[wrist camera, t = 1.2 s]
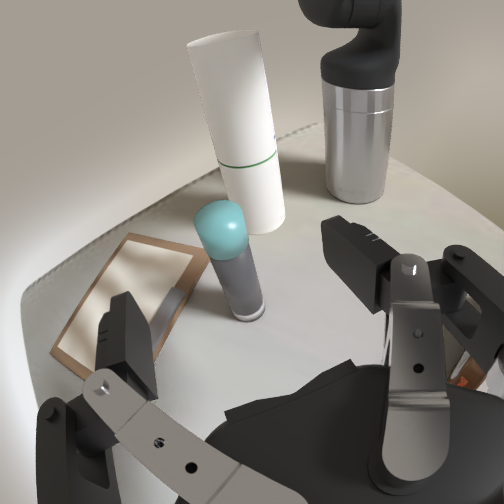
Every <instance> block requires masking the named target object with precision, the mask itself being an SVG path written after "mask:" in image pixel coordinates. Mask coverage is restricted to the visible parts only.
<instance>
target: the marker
mask: <svg viewBox="0 0 504 504" xmlns="http://www.w3.org/2000/svg"><path fill="white" fill-rule="evenodd" d="M194 225H195V228H196V230H197V233H198V235H199V237H200V240H201V242H202V245H203V247H204V249H205V252H206V253H207V255H208V256H209V258H210V260H211V263H212V265H213V267H214V270H215V272H216V274H217V277H218V279H219V281H220V284H221V286H222V288H223V291H224V293H225V295H226V297H227V300H228V302H229V304H230V308H231V310H232V312H233V314H234V315H235V317H236V318H237V319H238V320H240V321H242V322H253V321H255V320H257V319H259V318H260V317H261V316H262V315H263V313H264V310H265V302H264V298H263V295H262V292H261V288H260V284H259V280H258V276H257V273H256V269H255V265H254V261H253V257H252V253H251V249H250V245H249V236H248V232H247V229H246V225H245V221H244V217H243V213H242V209H241V207H240V206H239V205H238V204H237V203H235V202H233V201H229V200H219V201H215V202H212V203H209V204H207V205H205V206H204V207H203V208H201V209H200V210H199V211H198V213H197V214H196V216H195V219H194Z"/></svg>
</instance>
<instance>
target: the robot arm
mask: <svg viewBox="0 0 504 504" xmlns="http://www.w3.org/2000/svg"><path fill="white" fill-rule="evenodd" d="M298 2H299V5H300V8H301V10H302V12H303V14H304V15H305V16H306V18H307V19H308V20H310V21H311V22H312V23H314V24H316V25H318V26H322V27H329V28H359V31H358V34H357V36H356V37H355V38H354V39H353V40H352V41H350V42H349V43H347V44H346V45H344V46H342V47H340V48H337V49H335V50H333V51H330V52H328V53H326V54H325V55H324V56H323V57H322V59H321V78H322V92H323V106H324V107H323V108H324V129H325V166H326V187H327V189H328V191H329V192H330V193H331V194H332V195H333V196H335V197H336V198H338V199H340V200H343V201H345V202H349V203H357V204H360V203H368V202H372V201H374V200H376V199H378V198H379V197H380V196H381V195H382V194H383V192H384V187H385V180H386V173H387V166H388V158H389V150H390V139H391V130H392V119H393V105H394V104H393V103H394V82H395V72H396V69H397V67H398V64H399V58H400V38H401V16H402V15H401V13H402V11H401V10H402V8H401V0H298ZM321 232H322V242H323V252H324V257H325V260H326V262H327V264H328V265H329V267H330V268H331V269H332V270H333V271H334V272H335V273H336V274H337V275H338V276H339V277H340V279H341V280H342V281H343V282H344V283H345V284H346V285H347V286H348V287H349V288H350V289H351V291H352V292H353V293H354V294H355V295H356V296H357V297H358V298H359V299H360V301H361V302H362V303H363V304H364V305H365V306H366V307H367V308H368V310H369V311H370V312H371V313H372V314H375V313H377V312H379V311H381V310H383V311H384V312H385V313H386V314H385V327H384V344H383V357H382V364H381V365H375V364H373V365H361V366H355V365H354V363H353V362H352V360H351V359H349V360H347V361H345V362H343V363H341V364H339V365H337V366H335V367H333V368H331V369H329V370H326V371H324V372H322V373H321V374H319V375H318V376H317V377H315V378H314V379H313V380H311V381H310V382H309V383H307V384H306V385H305V386H303V387H302V388H301V389H299V390H298V391H297V392H295V393H293V394H290V395H285V396H279V397H273V398H267V399H260V400H255V401H252V402H250V403H247V404H244V405H241V406H239V407H236V408H233V409H230V410H227V411H224V413H225V416H226V419H227V421H225V422H224V423H222V424H221V425H219V426H218V427H217V428H216V429H215V430H214V431H213V432H212V433H210V435H209V436H208V437H207V438H206V440H205V441H203V440H202V439H200V438H199V437H197V436H196V435H194V434H193V433H191V432H190V431H189V430H187V429H186V428H184V427H183V426H182V425H180V424H179V423H177V422H176V421H175V420H173V419H172V418H171V417H169V416H168V415H167V414H165V413H164V412H163V411H162V410H160V409H159V408H158V407H156V406H155V405H154V404H153V403H151V402H150V401H151V400H155V399H158V394H157V387H156V379H155V370H154V361H153V351H152V340H151V331H150V327H149V324H148V322H147V320H146V318H145V316H144V314H143V313H142V311H141V309H140V308H139V306H138V304H137V303H136V301H135V299H134V297H133V296H132V294H131V293H130V292H129V291H126V292H123V293H121V294H118V295H115V296H113V297H111V300H110V310H109V312H106V313H104V314H103V316H102V318H101V320H100V322H99V326H98V335H97V346H96V358H95V372H93V373H92V374H91V375H90V376H89V377H88V378H87V379H86V381H85V383H84V385H83V391H82V392H83V393H82V394H81V395H80V396H78V397H76V398H75V399H73V400H71V401H70V402H68V403H65V402H64V401H63V400H61V399H60V398H57V397H53V398H50V399H48V400H47V401H45V402H44V403H43V404H42V406H41V407H40V409H39V411H38V415H37V428H36V485H37V499H38V504H121V499H120V494H119V489H118V484H117V479H116V473H115V467H114V461H113V454H112V446H114V445H115V444H117V443H119V442H121V443H122V445H123V446H124V447H125V448H126V449H127V450H128V451H129V452H130V453H132V454H133V455H134V456H135V457H136V458H137V459H138V460H139V461H140V462H141V463H142V464H143V465H144V466H145V467H146V468H147V469H149V470H150V471H151V472H152V473H153V474H154V475H155V476H156V477H158V478H159V479H160V480H161V481H162V482H163V483H165V484H166V485H167V486H168V487H169V488H171V489H172V490H173V491H174V492H176V493H177V494H178V495H179V496H178V498H177V500H176V502H175V504H504V276H502V275H501V274H500V273H499V272H498V271H497V270H495V269H494V268H493V267H492V266H491V265H489V264H488V263H487V262H486V261H485V260H483V259H482V258H481V257H480V256H478V255H477V254H476V253H475V252H473V251H472V250H471V249H469V248H467V247H465V246H462V245H451V246H448V247H446V248H445V250H444V252H443V258H442V259H439V260H434V261H428V262H426V261H425V260H424V259H423V258H421V257H420V256H417V255H414V254H400V253H398V252H397V251H396V250H395V249H393V248H392V247H391V246H389V245H388V244H387V243H386V242H384V241H383V240H382V239H379V237H378V236H377V235H375V234H373V233H372V232H371V231H370V230H369V229H367V228H366V227H365V226H362V225H359V224H356V223H351V224H350V223H349V222H348V221H346V220H345V219H344V218H342V217H341V216H339V215H338V216H335V217H332V218H329V219H326V220H324V221H322V222H321ZM467 293H468V294H469V295H470V296H471V297H472V298H473V299H474V300H475V301H476V302H477V303H478V304H479V305H480V307H481V310H482V315H481V314H480V313H479V312H478V311H477V310H476V309H475V308H474V307H473V306H472V305H471V304H470V303H469V302H468V301H467V300H466V296H467ZM442 323H443V324H444V326H445V327H446V328H447V329H448V330H449V331H450V332H451V333H452V335H453V336H454V337H455V338H456V339H457V340H458V342H459V343H460V344H461V345H462V346H463V347H464V349H465V350H466V351H467V352H468V353H469V355H470V356H471V357H472V358H473V359H474V361H475V362H476V363H477V364H478V365H479V367H480V368H481V369H482V370H483V372H484V373H485V374H486V375H487V377H486V382H487V386H488V391H487V393H485V392H481V391H477V390H473V389H469V388H465V387H461V386H457V385H453V384H449V383H446V370H445V353H444V341H443V330H442Z"/></svg>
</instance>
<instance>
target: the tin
mask: <svg viewBox="0 0 504 504" xmlns="http://www.w3.org/2000/svg"><path fill="white" fill-rule="evenodd" d="M486 377H487V375H486V374H485V373H484V372H483V370H482V369H481V368H480V367H479V365H478V364H477V363H476V362H475V361H474V359H473V358H472V357H471V356H470V355H469V353H468V352H467V351H466V350H465V351H464V353H463V354H462V356H461V358H460V359H459V361H458V363H457V364H456V366H455V367H454V369H453V371H452V373H451V374H450V376H449V378H448V380H447V383H449V384H453V385H457V386H461V387H465V388H469V389H473V390H476V389H477V388H478V387H479V386H480V385H481V384H482V383H483V381H484V380H485V379H486Z"/></svg>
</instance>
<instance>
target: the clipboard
mask: <svg viewBox="0 0 504 504" xmlns="http://www.w3.org/2000/svg"><path fill="white" fill-rule="evenodd" d="M209 261H210V258H209V256H208V255H207V253H206V252H205V249H202V248H198V247H193V246H188V245H184V244H179V243H175V242H170V241H165V240H161V239H156V238H152V237H147V236H142V235H138V234H133V233H128V234H127V236H126V237H125V238H124V240H123V241H122V242H121V244H120V245H119V246H118V248H117V249H116V251H115V252H114V253H113V255H112V256H111V258H110V259H109V260H108V262H107V263H106V265H105V266H104V267H103V269H102V270H101V272H100V273H99V275H98V276H97V278H96V279H95V281H94V282H93V283H92V285H91V286H90V288H89V289H88V291H87V292H86V294H85V296H84V297H83V299H82V300H81V302H80V303H79V305H78V306H77V308H76V310H75V311H74V313H73V314H72V316H71V318H70V319H69V321H68V322H67V324H66V326H65V327H64V329H63V331H62V332H61V334H60V336H59V337H58V339H57V341H56V343H55V344H54V346H53V348H52V350H51V351H50V354H51V355H52V356H54V357H55V358H56V359H57V360H59V361H60V362H61V363H62V364H64V365H65V366H66V367H68V368H69V369H70V370H72V371H73V372H74V373H76V374H77V375H78V376H80V377H81V378H82V379H84V380H85V381H86V379H87V378H88V377H89V376H90V375H91V374H92V373H93V372H95V358H96V346H97V335H98V326H99V322H100V320H101V318H102V316H103V314H104V313H106V312H109V310H110V300H111V297H113V296H115V295H118V294H121V293H123V292H126V291H129V292H130V293H131V294H132V296H133V297H134V299H135V301H136V303H137V304H138V306H139V308H140V309H141V311H142V313H143V314H144V316H145V318H146V320H147V322H148V324H149V327H150V331H151V340H152V351H153V361H155V359H156V357H157V355H158V353H159V352H160V350H161V348H162V346H163V344H164V342H165V340H166V339H167V337H168V335H169V333H170V331H171V329H172V327H173V326H174V324H175V322H176V320H177V318H178V316H179V315H180V313H181V311H182V309H183V307H184V305H185V304H186V302H187V300H188V298H189V296H190V295H191V293H192V291H193V289H194V287H195V286H196V284H197V282H198V280H199V279H200V277H201V275H202V273H203V271H204V270H205V268H206V266H207V264H208V263H209Z"/></svg>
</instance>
